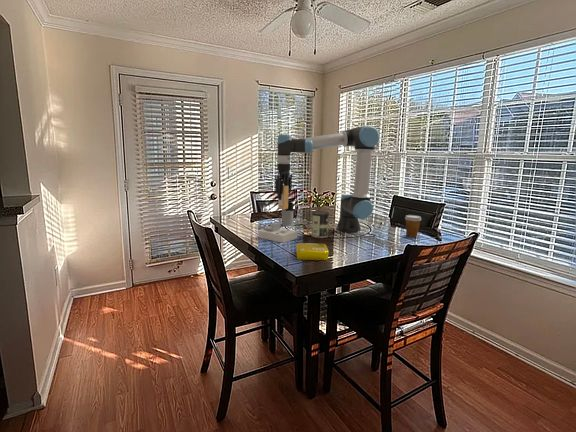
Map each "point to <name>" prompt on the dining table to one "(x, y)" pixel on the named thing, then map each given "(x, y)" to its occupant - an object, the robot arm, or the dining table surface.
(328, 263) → the dining table surface
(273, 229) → the shutter
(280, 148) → the robot arm
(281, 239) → the socket plate
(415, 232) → the disposable coffee cup
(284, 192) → the plug
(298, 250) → the element tile
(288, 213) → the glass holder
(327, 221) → the coffee can
